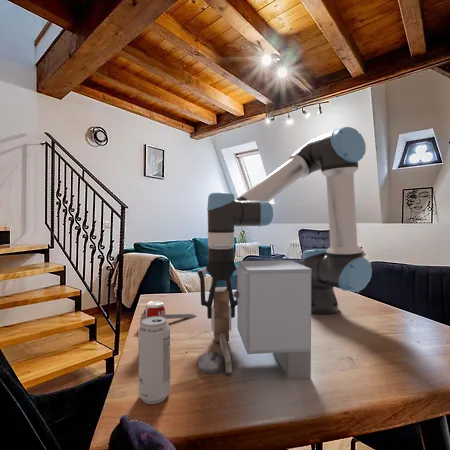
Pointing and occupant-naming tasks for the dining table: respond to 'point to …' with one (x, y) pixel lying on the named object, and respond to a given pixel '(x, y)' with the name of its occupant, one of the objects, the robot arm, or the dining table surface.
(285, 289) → the cabinet
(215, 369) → the disc
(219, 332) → the wooden mallet
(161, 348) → the energy drink can
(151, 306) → the soda can
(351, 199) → the robot arm
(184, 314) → the caliper
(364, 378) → the dining table surface
